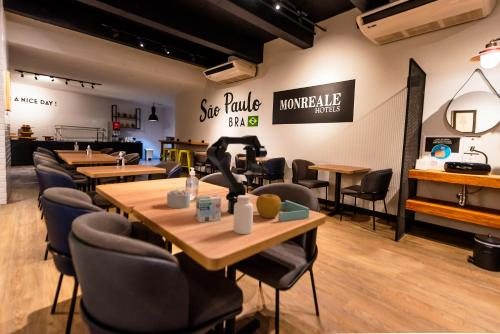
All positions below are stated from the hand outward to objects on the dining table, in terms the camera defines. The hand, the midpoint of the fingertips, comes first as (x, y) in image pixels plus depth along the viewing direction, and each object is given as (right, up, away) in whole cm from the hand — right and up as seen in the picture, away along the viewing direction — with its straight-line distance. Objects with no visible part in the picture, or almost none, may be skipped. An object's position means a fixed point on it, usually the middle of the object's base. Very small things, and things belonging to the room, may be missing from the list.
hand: (250, 186), depth 146 cm
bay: (+17, -14, -7) cm, 24 cm away
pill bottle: (-3, -17, -35) cm, 39 cm away
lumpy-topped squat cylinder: (-40, -12, +3) cm, 42 cm away
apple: (+9, -15, -12) cm, 21 cm away
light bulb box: (-20, -15, -21) cm, 32 cm away
